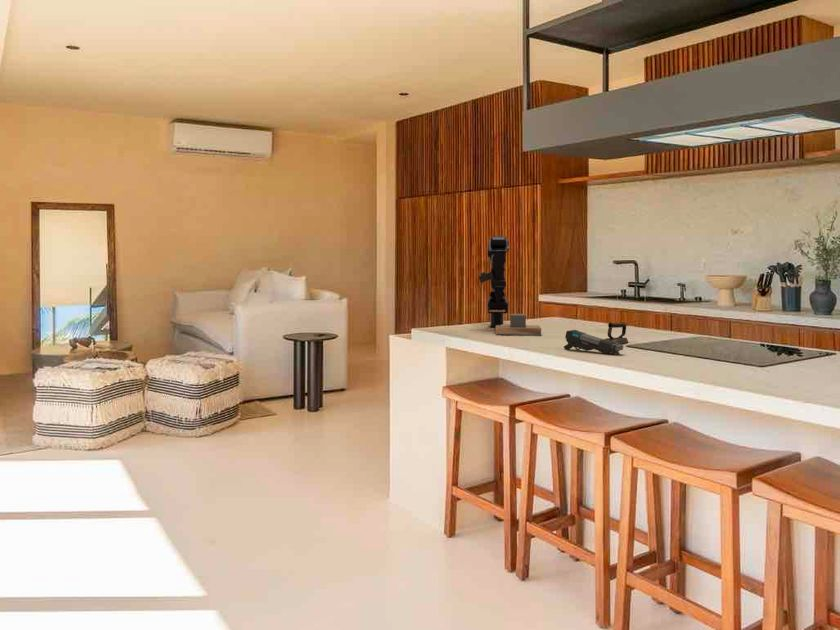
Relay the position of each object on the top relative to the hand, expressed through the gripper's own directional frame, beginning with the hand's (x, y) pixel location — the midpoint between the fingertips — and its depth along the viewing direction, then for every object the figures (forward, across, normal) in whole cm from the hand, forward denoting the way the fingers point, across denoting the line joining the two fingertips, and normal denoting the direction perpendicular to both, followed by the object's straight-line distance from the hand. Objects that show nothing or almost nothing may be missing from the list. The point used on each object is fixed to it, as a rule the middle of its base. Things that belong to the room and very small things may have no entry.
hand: (497, 302), depth 312 cm
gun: (+12, +61, +31) cm, 69 cm away
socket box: (+12, +13, +8) cm, 19 cm away
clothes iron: (+12, +38, +44) cm, 59 cm away
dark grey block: (+11, +13, +8) cm, 19 cm away
